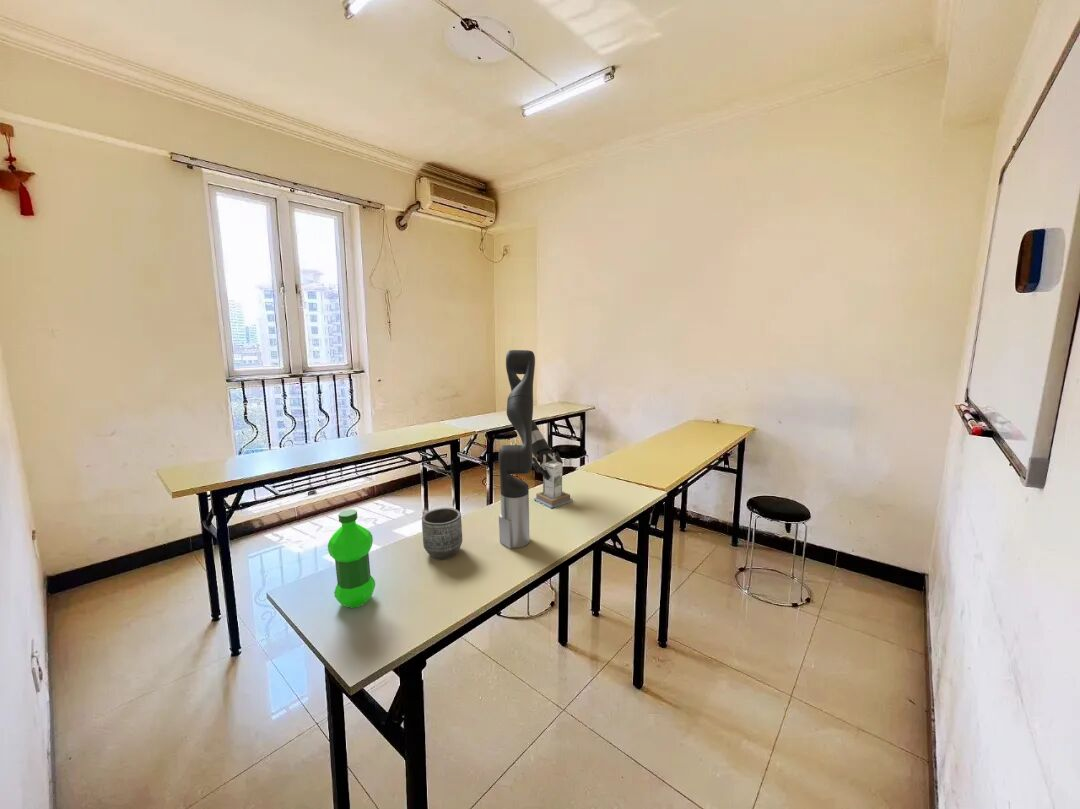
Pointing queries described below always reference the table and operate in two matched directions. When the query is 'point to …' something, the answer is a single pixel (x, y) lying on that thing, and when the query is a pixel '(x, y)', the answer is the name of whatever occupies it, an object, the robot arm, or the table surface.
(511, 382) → the robot arm
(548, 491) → the syrup box
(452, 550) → the planter
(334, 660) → the table surface
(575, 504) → the table surface
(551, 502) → the footing plate
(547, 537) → the table surface
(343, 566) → the plastic bottle
